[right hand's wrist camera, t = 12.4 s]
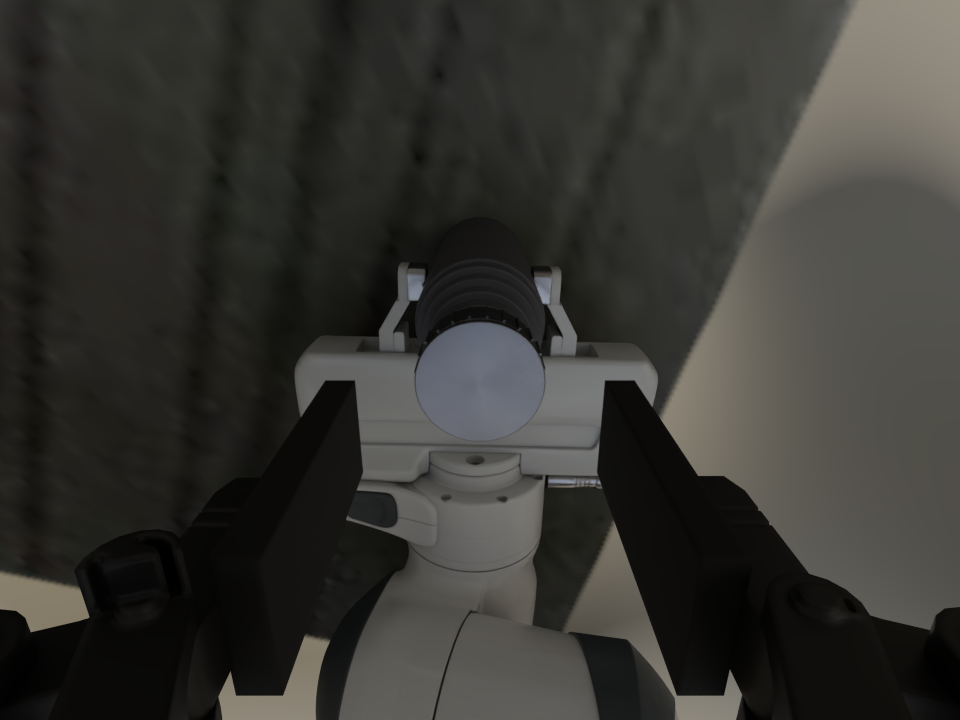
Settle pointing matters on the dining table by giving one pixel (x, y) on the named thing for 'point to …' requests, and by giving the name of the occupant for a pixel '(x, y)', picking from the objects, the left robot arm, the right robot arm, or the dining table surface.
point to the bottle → (479, 278)
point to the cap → (480, 374)
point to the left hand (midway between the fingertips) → (479, 265)
